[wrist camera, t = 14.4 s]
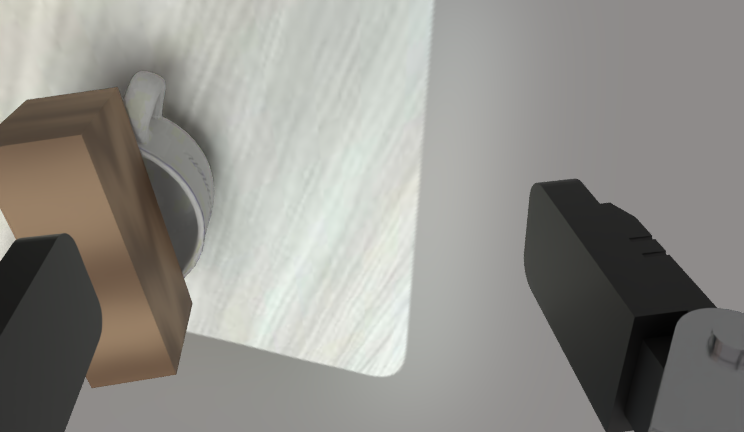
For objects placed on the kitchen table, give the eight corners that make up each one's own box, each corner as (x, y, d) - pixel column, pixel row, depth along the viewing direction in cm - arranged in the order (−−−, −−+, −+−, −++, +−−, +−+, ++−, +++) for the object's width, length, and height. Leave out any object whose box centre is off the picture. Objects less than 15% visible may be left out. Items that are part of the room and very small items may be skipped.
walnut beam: (26, 99, 30) (-29, 150, 25) (117, 86, 30) (81, 134, 25) (119, 314, 37) (91, 388, 32) (192, 303, 37) (176, 374, 32)
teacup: (178, 254, 45) (158, 326, 38) (27, 189, 41) (-26, 256, 34) (270, 101, 39) (265, 153, 33) (107, 10, 35) (63, 47, 29)
